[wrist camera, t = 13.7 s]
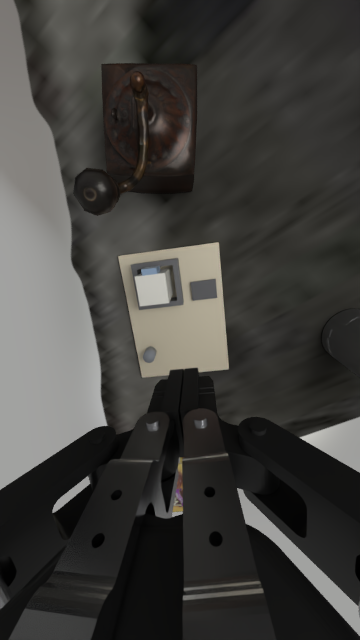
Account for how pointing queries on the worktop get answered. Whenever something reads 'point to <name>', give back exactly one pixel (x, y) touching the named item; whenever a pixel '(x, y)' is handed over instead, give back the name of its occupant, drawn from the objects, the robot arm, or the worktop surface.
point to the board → (179, 311)
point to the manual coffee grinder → (143, 134)
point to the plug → (154, 286)
